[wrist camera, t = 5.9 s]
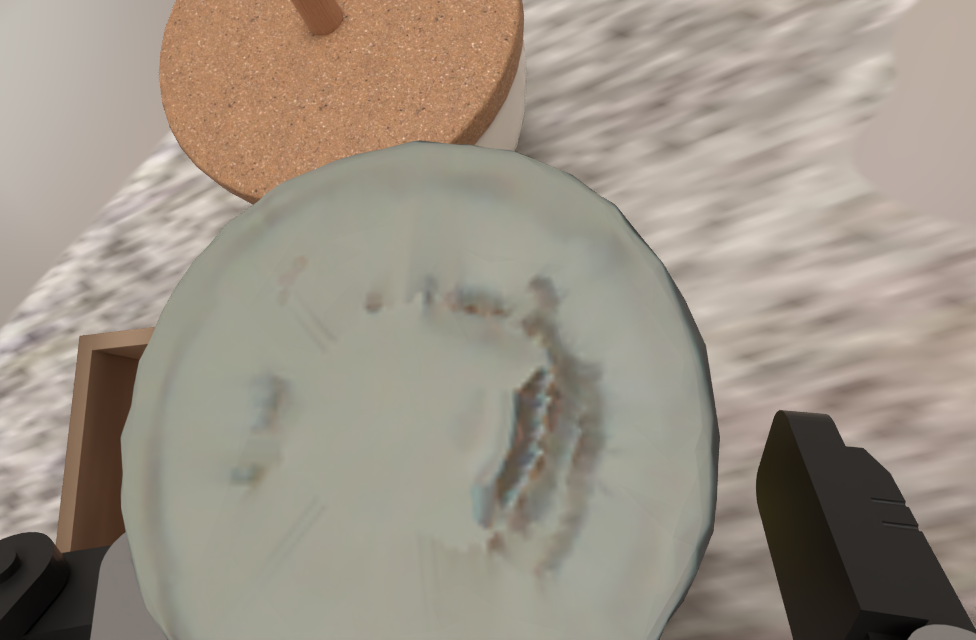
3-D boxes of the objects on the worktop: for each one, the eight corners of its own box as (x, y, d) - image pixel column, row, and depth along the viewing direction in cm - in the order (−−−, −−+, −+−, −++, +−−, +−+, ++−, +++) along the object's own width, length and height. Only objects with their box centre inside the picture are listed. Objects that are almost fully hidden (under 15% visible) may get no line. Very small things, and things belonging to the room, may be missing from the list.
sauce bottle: (683, 453, 21) (1457, 499, 2) (573, 570, 21) (451, 1677, 2) (560, 341, 23) (442, -139, 4) (458, 448, 23) (-159, 448, 4)
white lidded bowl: (269, 278, 26) (58, 165, 16) (318, 52, 29) (165, -176, 18) (527, 298, 24) (481, 180, 13) (555, 48, 27) (536, -216, 16)
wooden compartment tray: (405, 337, 24) (349, 304, 19) (424, 905, 20) (355, 1097, 14) (183, 361, 26) (70, 337, 20) (149, 889, 21) (-15, 1053, 15)
